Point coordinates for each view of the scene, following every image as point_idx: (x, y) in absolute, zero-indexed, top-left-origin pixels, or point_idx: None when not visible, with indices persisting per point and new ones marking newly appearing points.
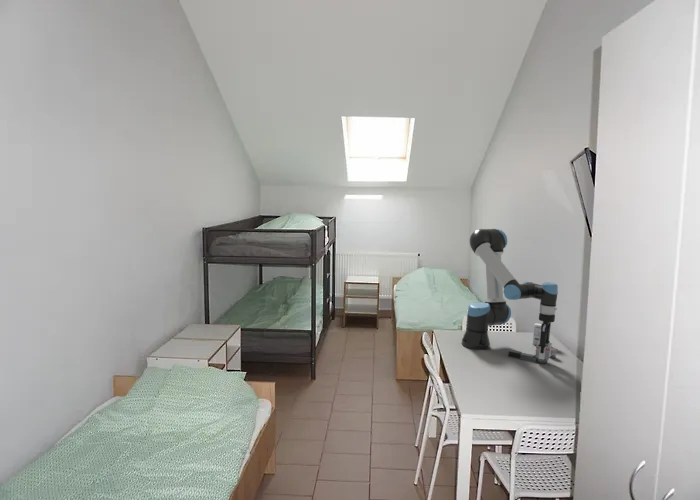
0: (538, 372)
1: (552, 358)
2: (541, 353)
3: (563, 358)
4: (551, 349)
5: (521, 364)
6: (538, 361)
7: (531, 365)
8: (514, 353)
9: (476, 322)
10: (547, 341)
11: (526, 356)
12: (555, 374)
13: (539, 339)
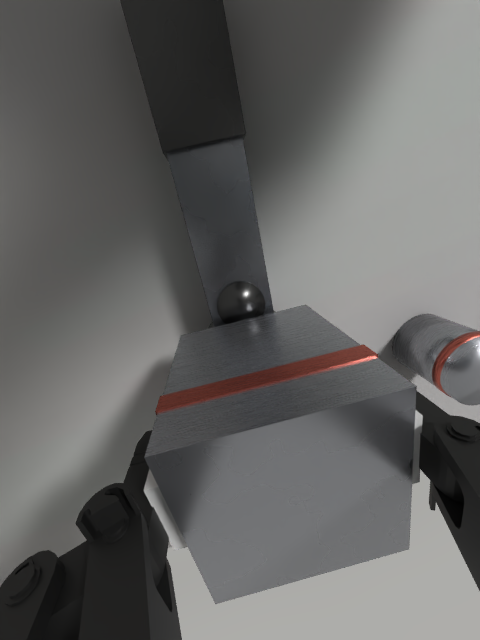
0: (6, 424)
1: (394, 355)
2: None
3: (442, 396)
4: (468, 373)
5: (29, 258)
6: None
7: (98, 327)
8: (139, 64)
9: None
10: (441, 507)
11: (190, 231)
12: (92, 490)
13: None
